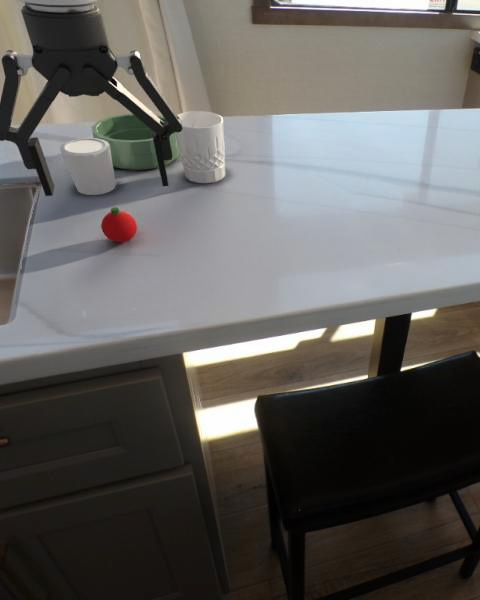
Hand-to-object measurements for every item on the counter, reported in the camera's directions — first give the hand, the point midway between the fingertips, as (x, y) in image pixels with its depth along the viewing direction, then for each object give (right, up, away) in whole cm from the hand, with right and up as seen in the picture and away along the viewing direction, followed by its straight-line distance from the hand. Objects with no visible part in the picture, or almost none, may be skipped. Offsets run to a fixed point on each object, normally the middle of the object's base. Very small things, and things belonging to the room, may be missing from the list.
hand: (109, 186), depth 69 cm
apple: (-1, -6, +5) cm, 8 cm away
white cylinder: (-11, +3, +16) cm, 20 cm away
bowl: (-9, +11, +26) cm, 30 cm away
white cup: (+4, +7, +23) cm, 25 cm away
